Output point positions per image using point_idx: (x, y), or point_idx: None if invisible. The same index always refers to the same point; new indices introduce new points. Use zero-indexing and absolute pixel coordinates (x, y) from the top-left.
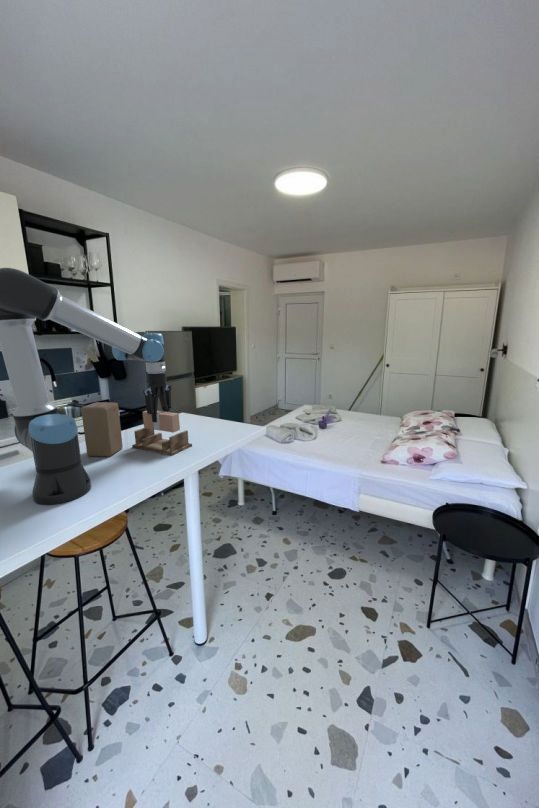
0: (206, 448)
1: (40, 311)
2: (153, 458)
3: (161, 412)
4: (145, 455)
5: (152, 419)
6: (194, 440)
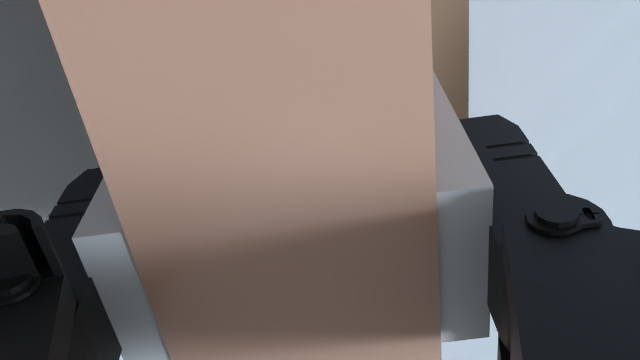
0: (467, 346)
1: None
2: (35, 195)
3: (333, 315)
4: (9, 73)
5: (58, 221)
6: (620, 135)
